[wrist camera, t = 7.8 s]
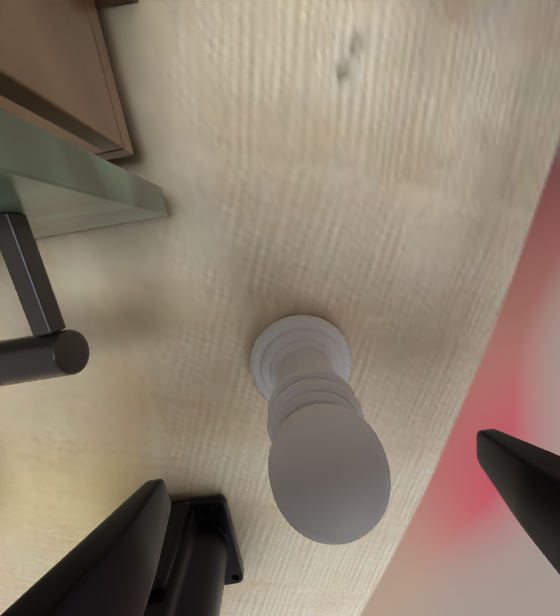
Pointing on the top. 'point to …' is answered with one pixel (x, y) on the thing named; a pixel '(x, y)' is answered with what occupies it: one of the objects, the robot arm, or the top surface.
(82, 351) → the drawer
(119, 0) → the cabinet
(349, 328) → the top surface
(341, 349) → the chess piece
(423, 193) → the top surface
